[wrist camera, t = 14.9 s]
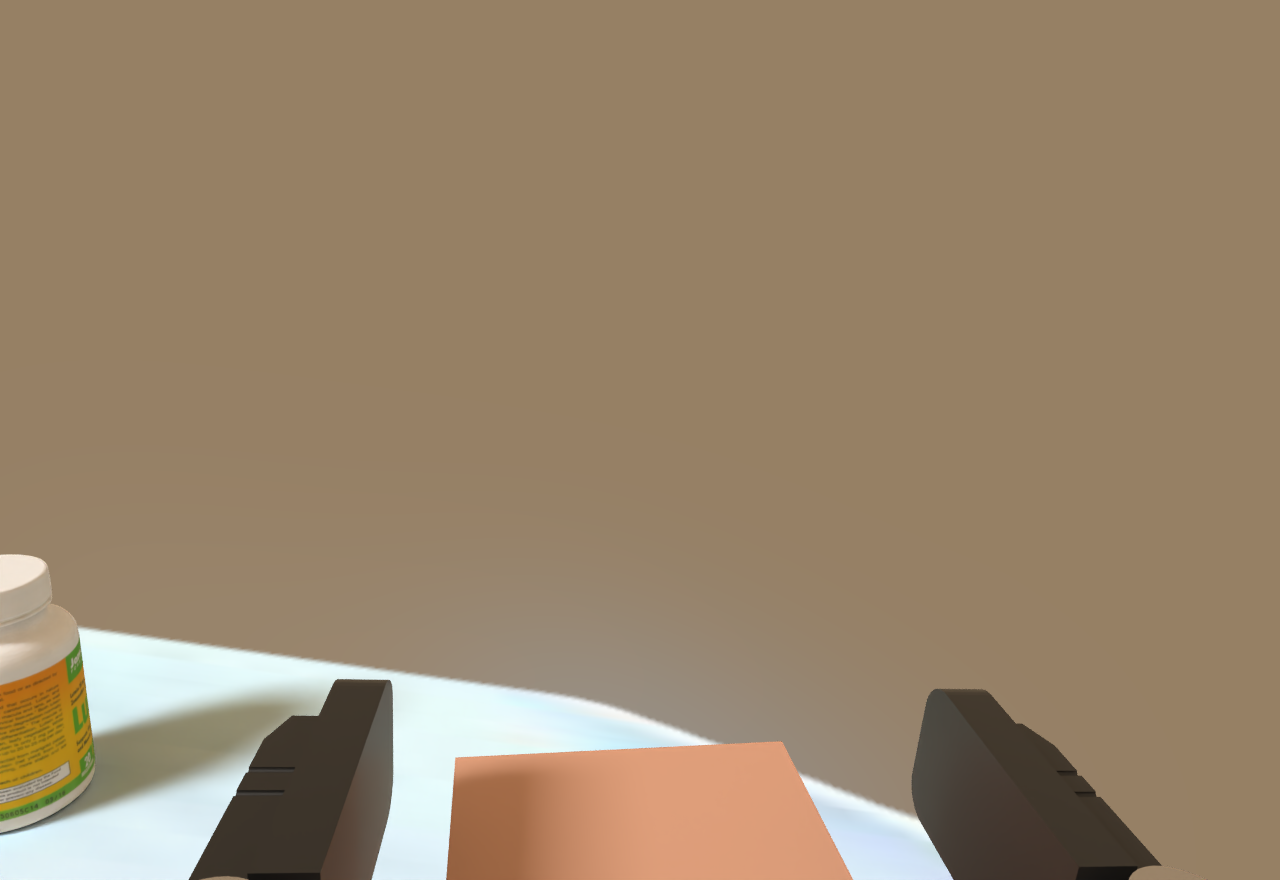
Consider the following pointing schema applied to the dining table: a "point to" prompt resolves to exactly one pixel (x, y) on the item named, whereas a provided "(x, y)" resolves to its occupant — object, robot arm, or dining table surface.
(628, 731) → the dining table surface
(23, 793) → the supplement bottle
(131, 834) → the dining table surface
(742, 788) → the terracotta block
